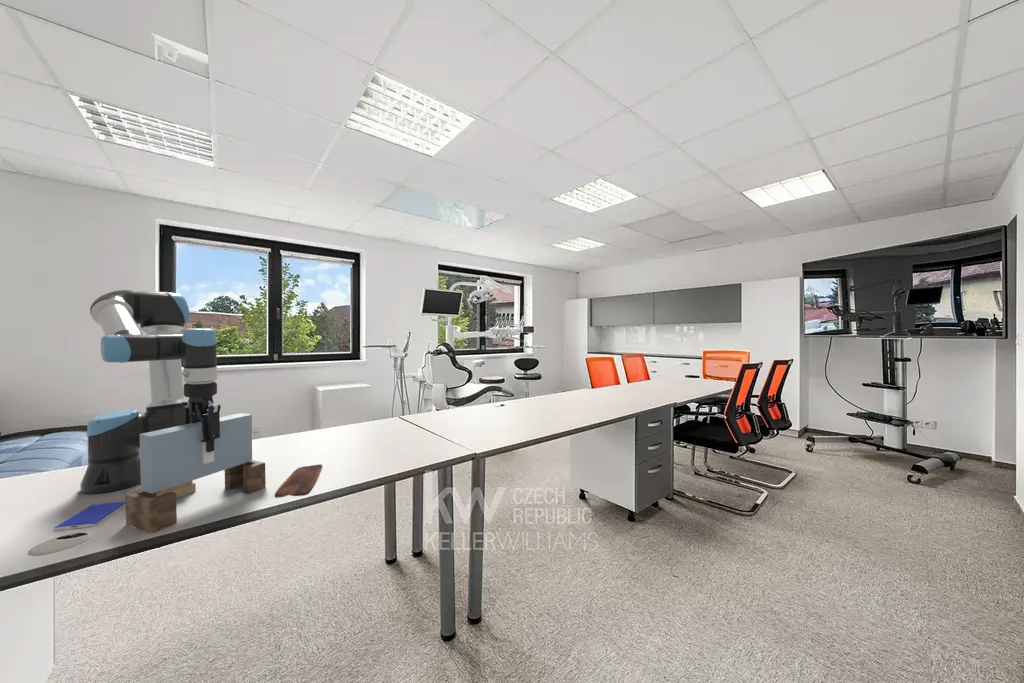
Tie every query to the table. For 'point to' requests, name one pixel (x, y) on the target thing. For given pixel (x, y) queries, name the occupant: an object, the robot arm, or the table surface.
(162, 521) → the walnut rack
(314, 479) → the wooden tablet
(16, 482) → the table surface
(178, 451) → the slate panel
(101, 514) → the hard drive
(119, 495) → the table surface
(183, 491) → the offcut stack
